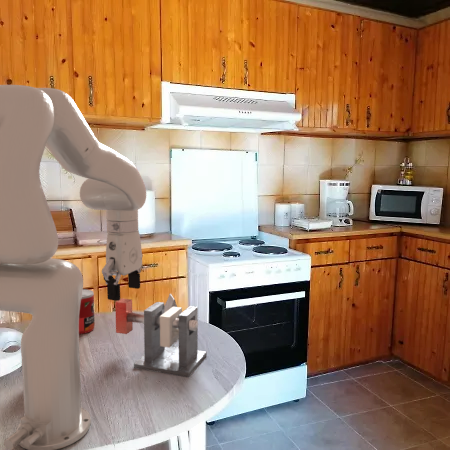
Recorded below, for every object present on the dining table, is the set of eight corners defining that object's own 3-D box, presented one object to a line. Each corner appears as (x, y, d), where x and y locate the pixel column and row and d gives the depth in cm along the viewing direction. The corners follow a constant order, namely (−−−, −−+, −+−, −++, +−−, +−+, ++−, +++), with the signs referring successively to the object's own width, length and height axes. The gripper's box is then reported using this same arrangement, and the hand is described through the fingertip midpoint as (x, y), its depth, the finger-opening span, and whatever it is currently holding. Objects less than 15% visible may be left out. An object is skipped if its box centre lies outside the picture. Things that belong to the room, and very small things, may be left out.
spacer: (169, 347, 101) (169, 317, 100) (160, 346, 102) (159, 316, 101) (181, 335, 108) (181, 307, 107) (173, 334, 109) (173, 306, 108)
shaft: (193, 344, 101) (194, 311, 100) (115, 332, 108) (115, 301, 106) (198, 339, 104) (198, 307, 103) (122, 328, 110) (121, 298, 109)
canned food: (90, 334, 121) (88, 297, 120) (61, 334, 121) (60, 296, 120) (98, 324, 129) (97, 289, 127) (71, 324, 129) (70, 288, 127)
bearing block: (188, 377, 98) (188, 320, 96) (133, 367, 102) (133, 313, 100) (206, 355, 109) (206, 304, 107) (156, 347, 113) (156, 298, 111)
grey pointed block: (167, 334, 122) (167, 300, 121) (163, 326, 129) (163, 293, 127) (180, 333, 123) (180, 299, 122) (176, 324, 130) (176, 292, 128)
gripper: (117, 233, 96) (119, 306, 99) (152, 222, 112) (153, 285, 115) (88, 231, 98) (91, 303, 101) (127, 220, 114) (129, 282, 117)
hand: (124, 293), depth 108 cm, fingers open, 9 cm apart
